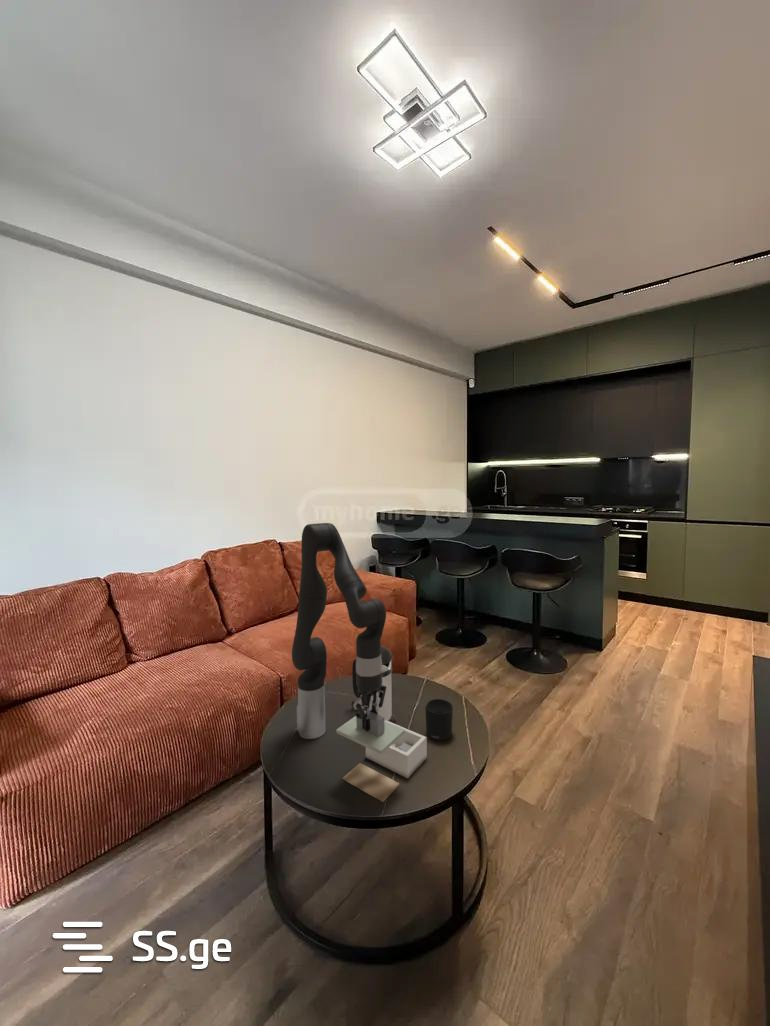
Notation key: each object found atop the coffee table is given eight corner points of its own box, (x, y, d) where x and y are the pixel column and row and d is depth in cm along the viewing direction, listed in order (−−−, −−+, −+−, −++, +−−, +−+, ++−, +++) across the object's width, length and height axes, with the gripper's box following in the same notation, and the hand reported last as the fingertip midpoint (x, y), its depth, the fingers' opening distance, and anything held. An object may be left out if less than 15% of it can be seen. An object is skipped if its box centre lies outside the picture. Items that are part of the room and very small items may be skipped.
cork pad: (342, 779, 121) (342, 777, 121) (359, 764, 127) (359, 762, 127) (383, 802, 112) (383, 800, 112) (399, 784, 119) (399, 783, 119)
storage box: (365, 757, 131) (365, 736, 130) (386, 739, 139) (385, 720, 139) (407, 778, 121) (407, 756, 121) (426, 758, 130) (426, 737, 129)
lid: (336, 736, 119) (335, 714, 119) (361, 718, 128) (360, 697, 128) (381, 758, 109) (380, 734, 109) (404, 737, 118) (404, 714, 118)
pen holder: (420, 730, 145) (420, 703, 144) (442, 722, 149) (442, 696, 148) (435, 745, 136) (435, 716, 135) (458, 737, 140) (458, 709, 140)
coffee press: (397, 709, 158) (396, 633, 156) (394, 734, 142) (393, 650, 140) (353, 707, 160) (352, 632, 158) (345, 731, 144) (343, 649, 142)
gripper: (373, 657, 125) (374, 711, 126) (342, 675, 114) (344, 734, 115) (393, 663, 121) (394, 719, 122) (363, 682, 110) (364, 744, 111)
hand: (370, 726), depth 119 cm, fingers closed on lid, 3 cm apart
